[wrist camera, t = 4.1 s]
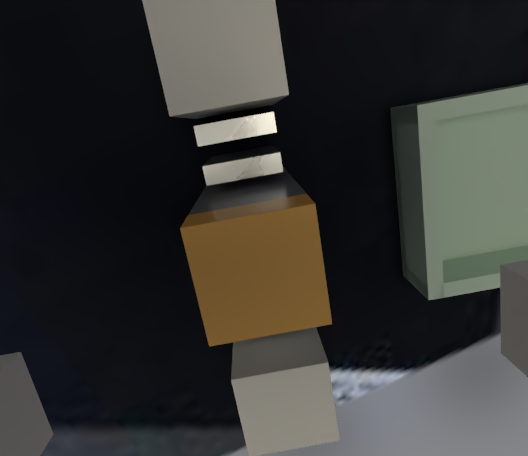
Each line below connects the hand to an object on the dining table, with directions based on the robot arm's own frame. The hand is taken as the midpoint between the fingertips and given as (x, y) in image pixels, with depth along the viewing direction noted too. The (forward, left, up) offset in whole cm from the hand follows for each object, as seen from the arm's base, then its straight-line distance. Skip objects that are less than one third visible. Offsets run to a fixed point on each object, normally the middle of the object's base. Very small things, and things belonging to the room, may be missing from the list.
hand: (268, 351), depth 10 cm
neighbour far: (0, -9, -16) cm, 18 cm away
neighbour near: (0, +9, -16) cm, 19 cm away
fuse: (0, 0, -16) cm, 16 cm away
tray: (+16, -1, -16) cm, 23 cm away
